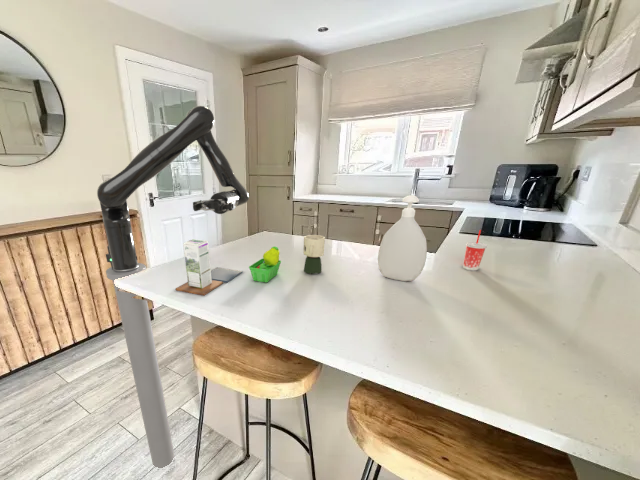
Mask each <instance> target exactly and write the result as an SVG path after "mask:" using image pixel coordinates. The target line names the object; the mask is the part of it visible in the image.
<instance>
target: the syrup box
mask: <svg viewBox="0 0 640 480" xmlns="http://www.w3.org/2000/svg"><path fill="white" fill-rule="evenodd" d="M182 247H183V254H184V255H183V256H184V261H185V269H186V277H187V278H186V279H187V282H188V286H191V287H196V288H204V287H206V286H208V285H209V284H211V283H212V279H211V271H212V270H211V260H210V247H209V241H208V240H203V239H190V240H189V239H188V240H187V241H185V242H183V243H182Z"/></svg>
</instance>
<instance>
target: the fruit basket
mask: <svg viewBox="0 0 640 480" xmlns="http://www.w3.org/2000/svg"><path fill="white" fill-rule="evenodd" d="M280 253H281V252H280V249H279V247H278V246H272V247H270V248H269V250H267V251H265V252H264V253H263V254H262V258H261V259H259V260H257V261H256V262H254V263H253V264H251V265H249V266H248V269H249V270H250V273H251V276H252V280H253V281H254V282H256V281H257V282H261V283H268V282H269V281H271V280H272V279H273V278H275V277H276V276H277V275H278V274H279V273H278V272H279V269H280V265H281V263H282V260H280Z"/></svg>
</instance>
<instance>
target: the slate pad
mask: <svg viewBox="0 0 640 480" xmlns="http://www.w3.org/2000/svg"><path fill="white" fill-rule="evenodd" d="M241 274H243V271H242V270H237V269H232V268H222V267H215V268H213V269H212V270H211V279H212V280H215V281H221V282H223V283H225V284H226V283H227V284H228V283H229V282H231V281H232V280H234V279H235V278H237V277H238V276H240V275H241Z"/></svg>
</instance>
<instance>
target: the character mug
mask: <svg viewBox="0 0 640 480" xmlns="http://www.w3.org/2000/svg"><path fill="white" fill-rule="evenodd" d="M325 242H326V237H325V236H324V235H319V234H308V235H304V236H303V255H304V256H305V261H304V265H303V272H304V273H305V274H311V275H313V274H321V273H322V271H323V270H322V269H323V268H322V258H321V257H323V256H324V254H325Z"/></svg>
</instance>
